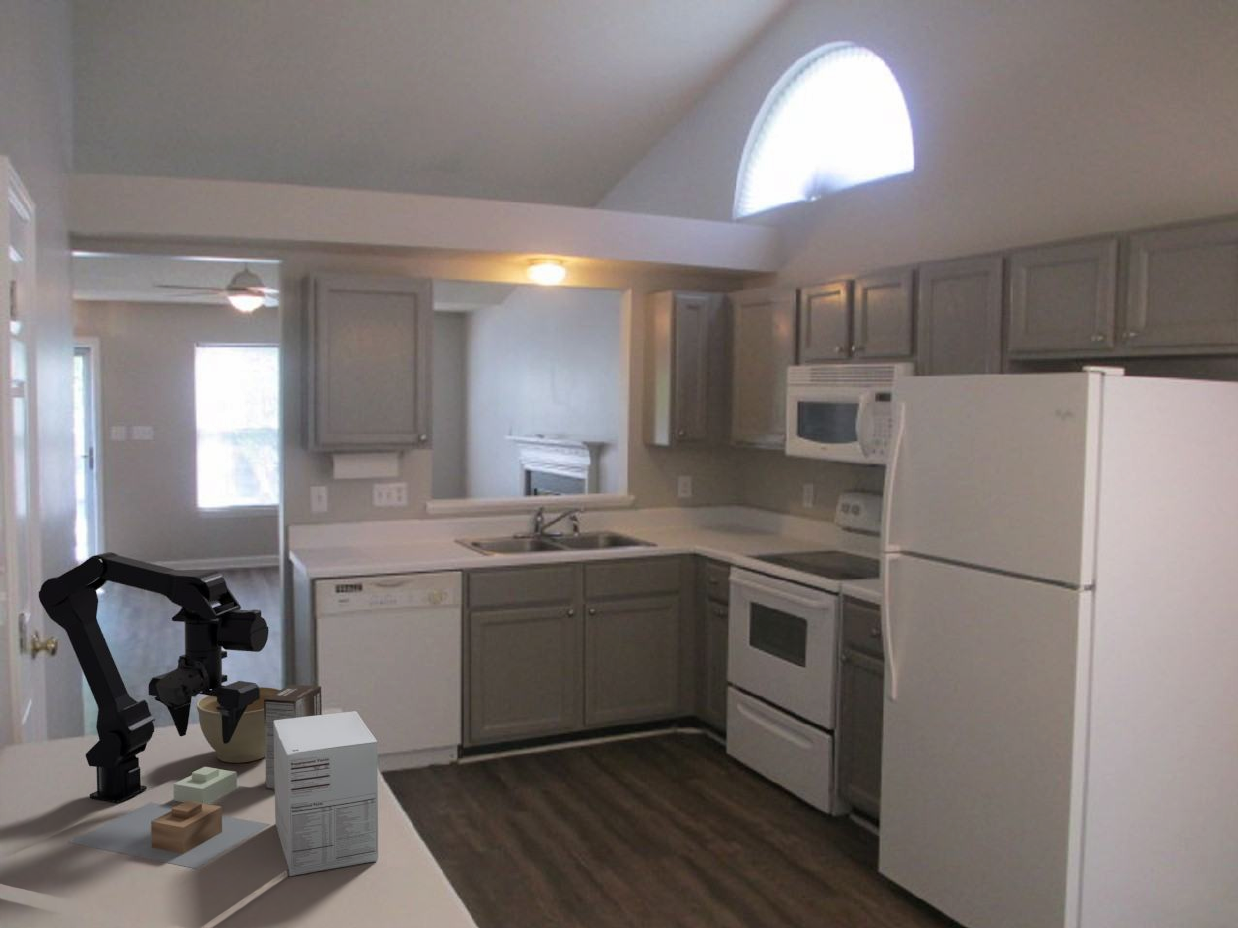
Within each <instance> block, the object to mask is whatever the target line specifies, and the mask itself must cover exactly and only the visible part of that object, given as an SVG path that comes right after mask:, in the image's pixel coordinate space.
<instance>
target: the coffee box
mask: <svg viewBox="0 0 1238 928" xmlns="http://www.w3.org/2000/svg"><path fill="white" fill-rule="evenodd" d="M279 690H280V691H278V692H276V693H274V694H272V695H271V696H269V697H267V698H265V699H264V718H265V757H264V759H265V788H267V789H274V790H275V780H274V727H273V721H274V720H282V719H291V718H299V717H308V716H317V715H323V714H322V713H323V712H322V710H323V709H322V685H321V686H320V685H319V686H318V685H299V684H298V685H297V684H289V685H287V686H286V687H283V688H282V689H279Z"/></svg>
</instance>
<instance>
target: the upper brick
mask: <svg viewBox="0 0 1238 928" xmlns="http://www.w3.org/2000/svg"><path fill="white" fill-rule="evenodd" d="M237 776H238V774H237V771H233V770H225V769H221V768H220V769H219V768H215V767H210V766H203V767H201V768H199V769H197V770H195V771H192V772H191V775H190V776H188V777H185V778H183V779H181V780H179V781H177V782H174V783H173V801H174V802H180V803H184V802H185V801H188V802H190V801H192V802H198V803H203V804H209V803H211V802H214V801H215V800H217V799H219V798H221V797H222V796H225V795H227V794H228V793H230V792H233V791H234V790H237V789H238V784H237V783H238V778H237Z"/></svg>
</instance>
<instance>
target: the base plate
mask: <svg viewBox="0 0 1238 928" xmlns="http://www.w3.org/2000/svg"><path fill="white" fill-rule="evenodd" d="M174 807H175V806H174V805H169V804H162V803H157V802H151V801H150V802H148V803H146V804H144V805H142V806H140V807H137V808H135V809H133V810H132V811H129V812H126V813H125V814H124V815H123V814H122V815H121V816H119V817H117V818H115V819H113V820H110V821H109V822H106V823H105V824H103V825H100V826H99V827H96V828H94V829H93V830H91V831H88V832H86V833H84V834H82V835H79V836H78V837H76V838H73V839H71V840H70V841H68V843H70V844H75V845H81V846H85V847H88V848H89V847H90V848H93V849H99V850H103V851H108V852H109V851H110V852H112V853H113V852H114V853H119V854H122V855H128V856H133V857H137V858H142V859H147V860H151V861H157V862H162V863H166V864H172V865H175V866H179V867H186V868H188V869H189V868H190V869H194V870H197V869H198V868H201V867H202V866H204V865H205V864H207V863H209V862H210V861H211V860H213V859H215V858H217V857H219V856H220V855H222V854H224V853H225V852H227V851H229V850H230V849H232V848H234V847H235V846H237V845H238V844H240V843H242V842H244V841H245V840H247V839H249V838H251V837H253V836H254V835H255V834H257V833H259V832H260V831H262V830H264V829H266V828H267V827H269V826H270V825H271V823H270V824H269V823H265V822H260V821H254V820H249V819H243V818H238V817H232V816H227V815H223V814H222V833H220V834H218V835H216V836H215V837H213V838H211V839H209V840H208V841H206V842H204V843H202V844H200V845H199V846H197V847H195V848H193V849H192V850H190V851H188V852H186V853H185V854H181V853H176V852H171V851H167V850H162V849H157V848H152V840H151V821H153V820H155V819H157V818H159V817H161V816H163V815H164V814H166V813H168V812H170V811H172V808H174Z"/></svg>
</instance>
